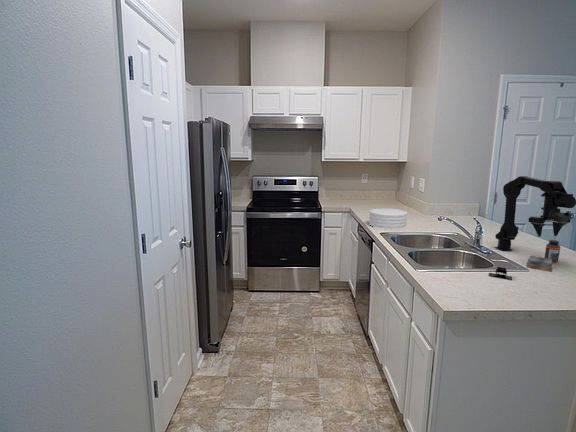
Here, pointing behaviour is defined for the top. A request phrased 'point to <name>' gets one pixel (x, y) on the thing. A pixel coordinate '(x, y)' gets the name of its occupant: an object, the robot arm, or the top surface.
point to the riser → (540, 263)
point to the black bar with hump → (502, 276)
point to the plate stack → (388, 218)
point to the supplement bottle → (552, 250)
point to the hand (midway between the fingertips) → (547, 236)
